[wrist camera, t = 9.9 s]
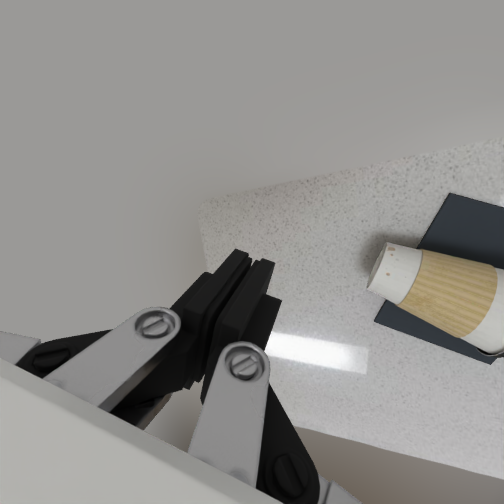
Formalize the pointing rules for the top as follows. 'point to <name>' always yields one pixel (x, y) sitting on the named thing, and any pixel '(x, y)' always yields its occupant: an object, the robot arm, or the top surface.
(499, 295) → the coffee cup
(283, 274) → the top surface
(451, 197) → the mat
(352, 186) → the top surface
